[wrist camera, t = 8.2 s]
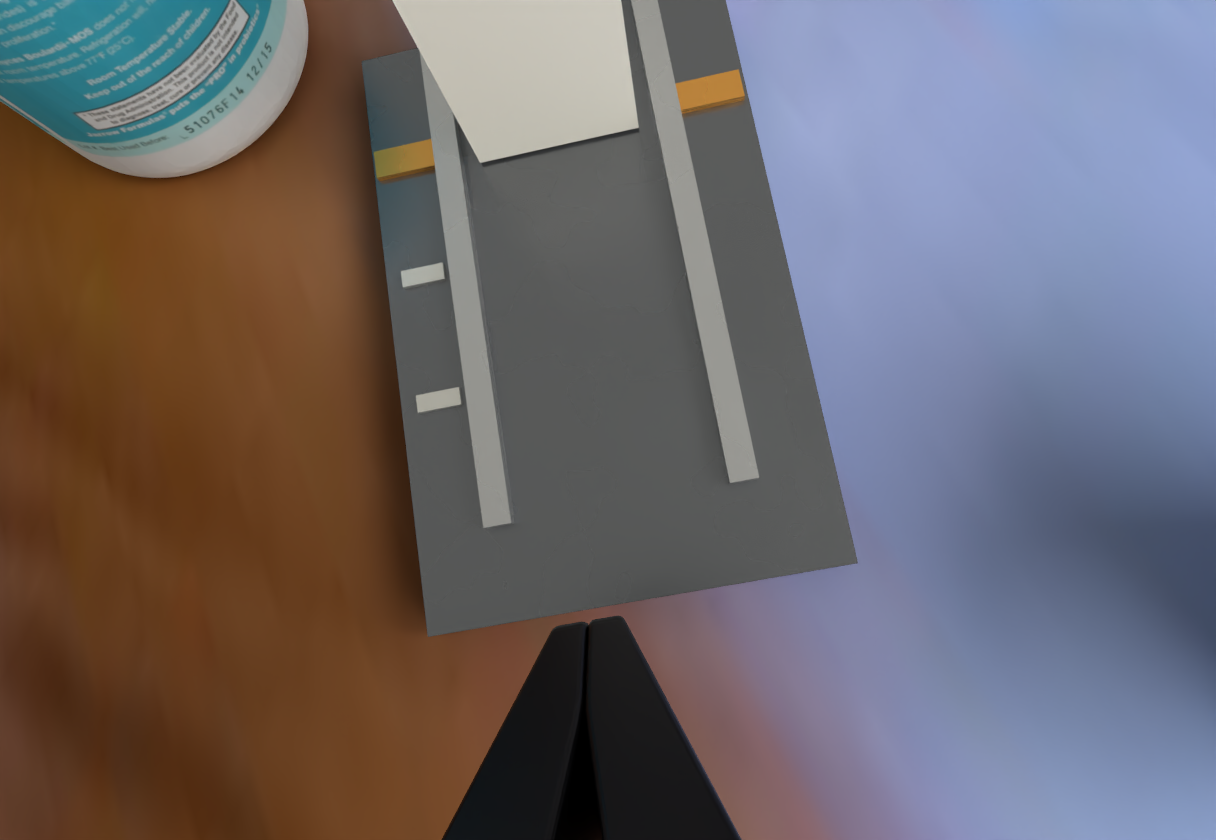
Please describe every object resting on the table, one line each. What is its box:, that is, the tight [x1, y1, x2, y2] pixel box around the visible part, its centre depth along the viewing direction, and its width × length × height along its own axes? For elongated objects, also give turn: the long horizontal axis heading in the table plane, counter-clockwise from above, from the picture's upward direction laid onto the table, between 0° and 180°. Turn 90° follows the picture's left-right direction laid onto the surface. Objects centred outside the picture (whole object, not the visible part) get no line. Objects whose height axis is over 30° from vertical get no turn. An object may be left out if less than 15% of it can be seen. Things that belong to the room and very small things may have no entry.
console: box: [362, 0, 858, 637], centre depth 17 cm, size 14×9×1 cm, turn 10°
